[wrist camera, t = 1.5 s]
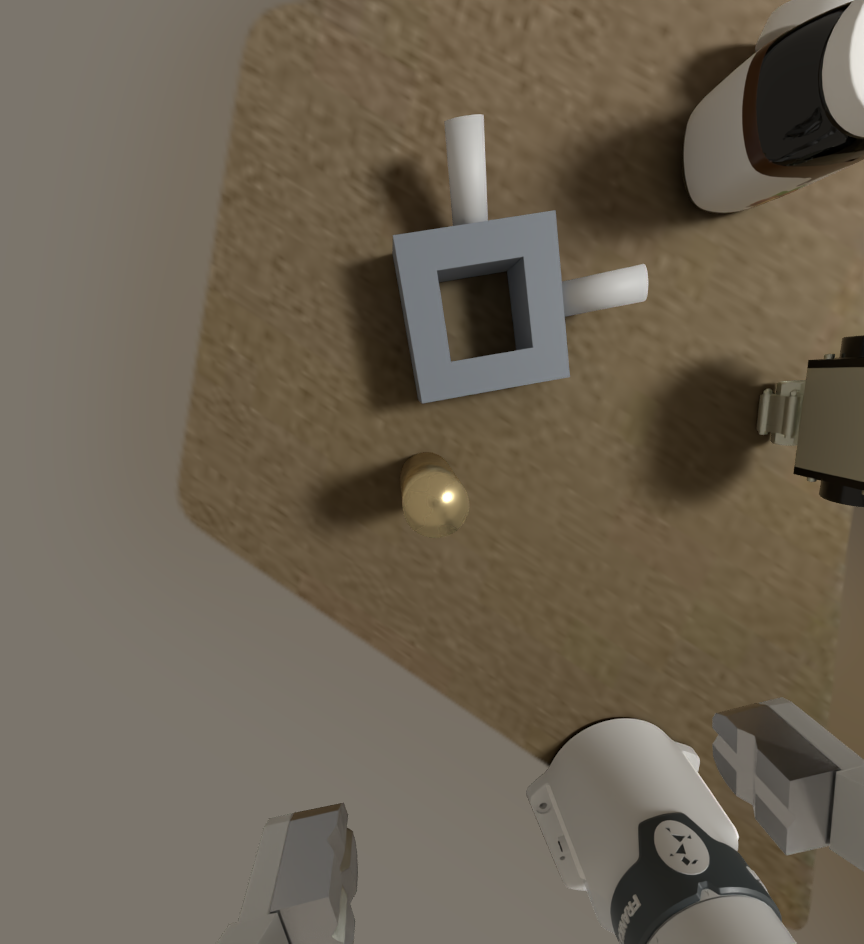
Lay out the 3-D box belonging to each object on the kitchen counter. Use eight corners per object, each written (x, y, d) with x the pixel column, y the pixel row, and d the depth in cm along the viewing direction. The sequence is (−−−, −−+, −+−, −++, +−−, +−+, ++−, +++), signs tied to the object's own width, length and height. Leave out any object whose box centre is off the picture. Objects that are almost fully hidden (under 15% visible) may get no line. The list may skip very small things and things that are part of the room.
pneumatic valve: (742, 477, 38) (898, 521, 26) (755, 344, 35) (937, 329, 24) (797, 471, 38) (975, 512, 27) (815, 340, 36) (1022, 322, 24)
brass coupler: (455, 497, 36) (473, 530, 28) (405, 506, 35) (409, 543, 28) (447, 447, 34) (463, 468, 27) (395, 457, 34) (397, 481, 26)
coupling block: (618, 364, 34) (662, 362, 29) (418, 400, 33) (424, 404, 28) (605, 128, 30) (653, 73, 25) (376, 161, 29) (373, 111, 24)
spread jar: (666, 227, 32) (815, 147, 21) (659, 55, 30) (825, -143, 18) (807, 202, 33) (1026, 112, 22) (813, 32, 30) (1066, -174, 19)
